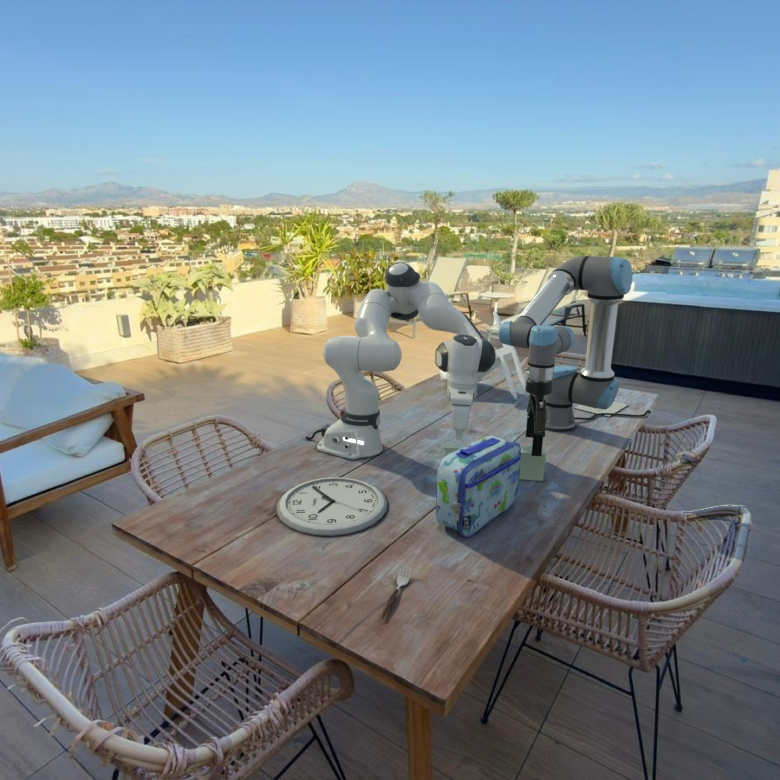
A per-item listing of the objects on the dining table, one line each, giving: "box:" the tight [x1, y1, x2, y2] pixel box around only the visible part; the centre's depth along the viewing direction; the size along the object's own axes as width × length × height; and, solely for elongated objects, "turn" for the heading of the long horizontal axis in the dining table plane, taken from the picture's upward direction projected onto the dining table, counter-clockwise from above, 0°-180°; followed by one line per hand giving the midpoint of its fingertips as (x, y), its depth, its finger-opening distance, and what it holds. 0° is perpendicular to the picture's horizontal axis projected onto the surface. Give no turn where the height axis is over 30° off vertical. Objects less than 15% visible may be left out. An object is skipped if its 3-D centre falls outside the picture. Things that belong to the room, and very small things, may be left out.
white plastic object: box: [438, 310, 530, 400], centre depth 245 cm, size 37×45×31 cm
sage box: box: [444, 440, 547, 482], centre depth 161 cm, size 30×5×9 cm, turn 83°
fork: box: [381, 564, 413, 619], centre depth 108 cm, size 3×16×2 cm, turn 160°
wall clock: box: [276, 476, 388, 537], centre depth 142 cm, size 30×2×30 cm
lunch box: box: [435, 435, 521, 538], centre depth 134 cm, size 26×11×21 cm, turn 134°
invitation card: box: [573, 401, 629, 418], centre depth 226 cm, size 21×1×15 cm
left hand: (458, 433), depth 160 cm, fingers open, 8 cm apart
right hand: (533, 446), depth 159 cm, fingers open, 13 cm apart
